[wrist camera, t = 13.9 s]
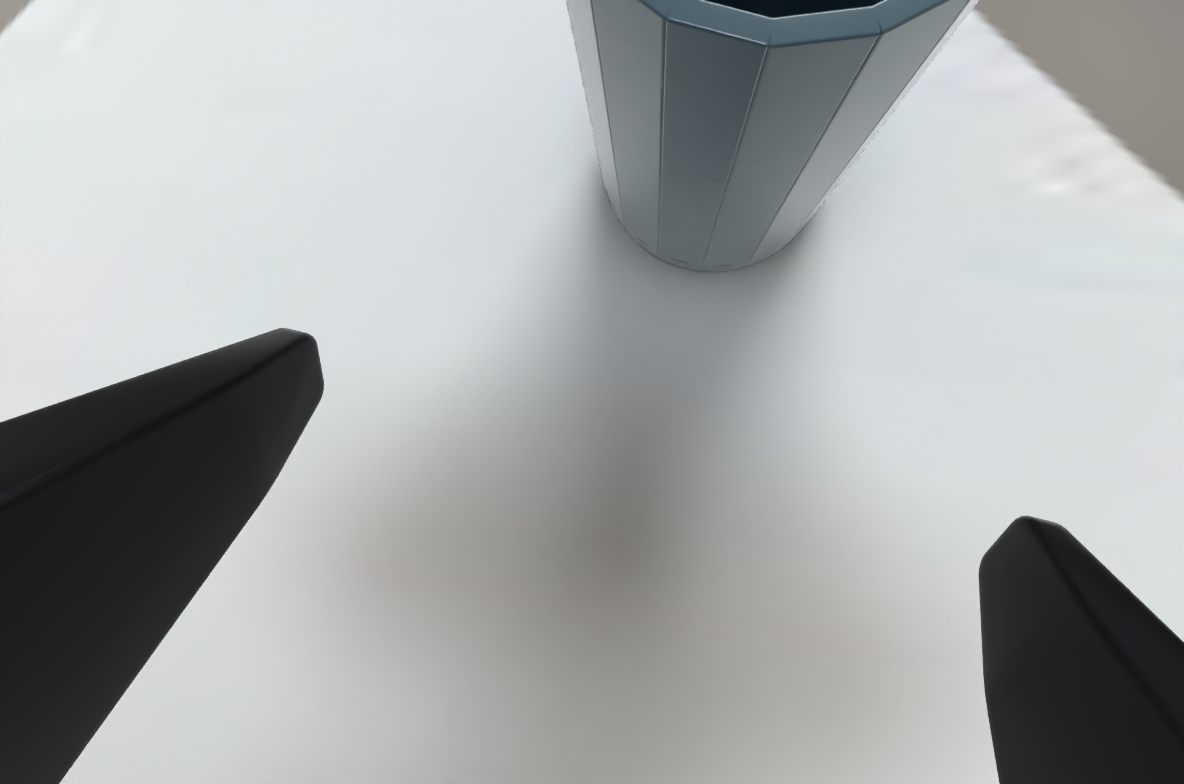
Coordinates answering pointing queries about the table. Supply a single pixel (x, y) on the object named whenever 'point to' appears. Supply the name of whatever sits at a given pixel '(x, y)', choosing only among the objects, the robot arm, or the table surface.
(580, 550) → the table surface
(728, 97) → the tumbler
